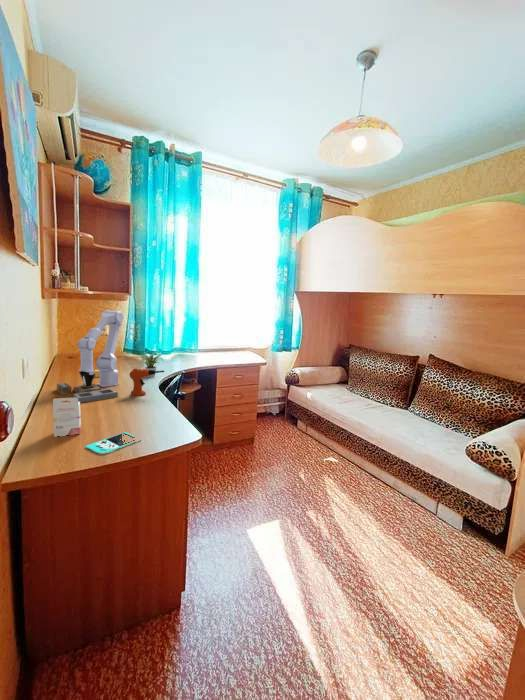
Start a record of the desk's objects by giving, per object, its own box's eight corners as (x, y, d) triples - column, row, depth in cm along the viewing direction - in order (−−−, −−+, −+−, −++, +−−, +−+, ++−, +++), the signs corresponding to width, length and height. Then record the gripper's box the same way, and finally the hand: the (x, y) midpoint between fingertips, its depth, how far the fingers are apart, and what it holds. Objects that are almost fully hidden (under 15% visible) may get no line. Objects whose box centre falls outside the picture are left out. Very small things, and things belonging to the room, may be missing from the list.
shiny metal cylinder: (90, 390, 175) (89, 374, 174) (92, 392, 172) (92, 375, 171) (82, 391, 172) (81, 375, 171) (84, 393, 169) (84, 376, 168)
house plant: (165, 378, 211) (166, 354, 208) (144, 380, 203) (144, 354, 200) (159, 373, 222) (159, 350, 220) (138, 375, 215) (138, 351, 212)
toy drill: (166, 393, 173) (163, 366, 170) (130, 397, 170) (126, 370, 168) (167, 391, 178) (164, 365, 175) (132, 394, 175) (128, 368, 172)
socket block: (94, 388, 179) (94, 383, 179) (100, 392, 172) (100, 388, 172) (73, 390, 172) (73, 386, 172) (80, 395, 165) (80, 390, 165)
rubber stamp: (111, 374, 211) (111, 357, 209) (111, 376, 206) (111, 358, 204) (94, 375, 206) (94, 357, 205) (94, 377, 201) (94, 359, 200)
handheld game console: (84, 448, 111) (84, 445, 111) (125, 434, 125) (125, 431, 124) (101, 457, 106) (101, 453, 106) (142, 441, 120) (142, 438, 119)
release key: (63, 386, 174) (63, 382, 174) (68, 390, 168) (68, 385, 168) (58, 387, 172) (58, 382, 172) (62, 390, 167) (62, 386, 166)
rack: (111, 392, 173) (111, 388, 172) (117, 396, 167) (117, 392, 167) (73, 398, 160) (73, 394, 159) (79, 403, 154) (78, 398, 154)
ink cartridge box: (81, 429, 125) (80, 393, 123) (79, 434, 121) (79, 397, 118) (55, 432, 122) (54, 395, 119) (53, 437, 117) (51, 399, 115)
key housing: (65, 389, 174) (65, 382, 174) (71, 393, 168) (71, 386, 167) (56, 390, 171) (56, 383, 171) (62, 394, 165) (61, 388, 164)
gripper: (74, 358, 172) (74, 383, 174) (83, 363, 162) (83, 389, 164) (88, 357, 177) (88, 381, 179) (97, 362, 167) (98, 387, 169)
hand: (87, 385), depth 172 cm, fingers closed on shiny metal cylinder, 4 cm apart
